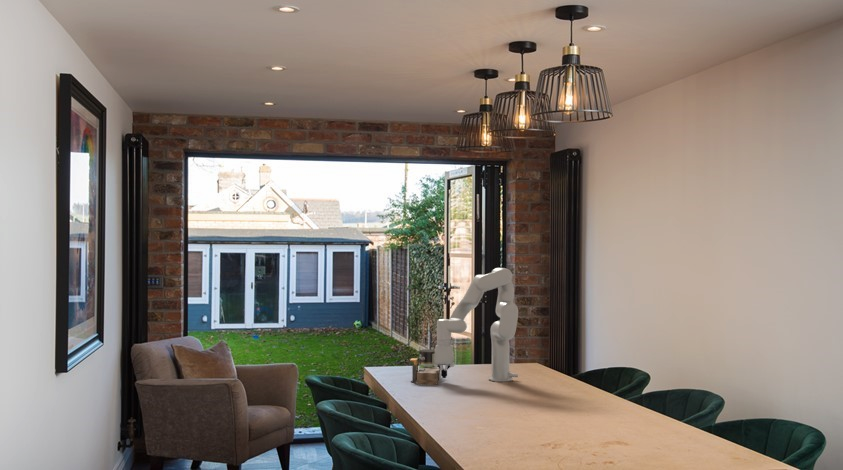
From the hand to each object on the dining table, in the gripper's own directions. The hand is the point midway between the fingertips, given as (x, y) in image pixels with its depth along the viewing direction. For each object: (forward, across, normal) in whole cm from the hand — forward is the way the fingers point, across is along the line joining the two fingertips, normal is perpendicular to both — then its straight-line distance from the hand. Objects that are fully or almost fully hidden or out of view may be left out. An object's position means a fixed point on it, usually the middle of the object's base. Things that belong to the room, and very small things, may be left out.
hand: (444, 377), depth 416 cm
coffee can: (+3, +11, -19) cm, 22 cm away
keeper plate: (-4, +16, 0) cm, 16 cm away
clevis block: (+2, +10, 0) cm, 10 cm away
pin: (+1, +8, 0) cm, 8 cm away
